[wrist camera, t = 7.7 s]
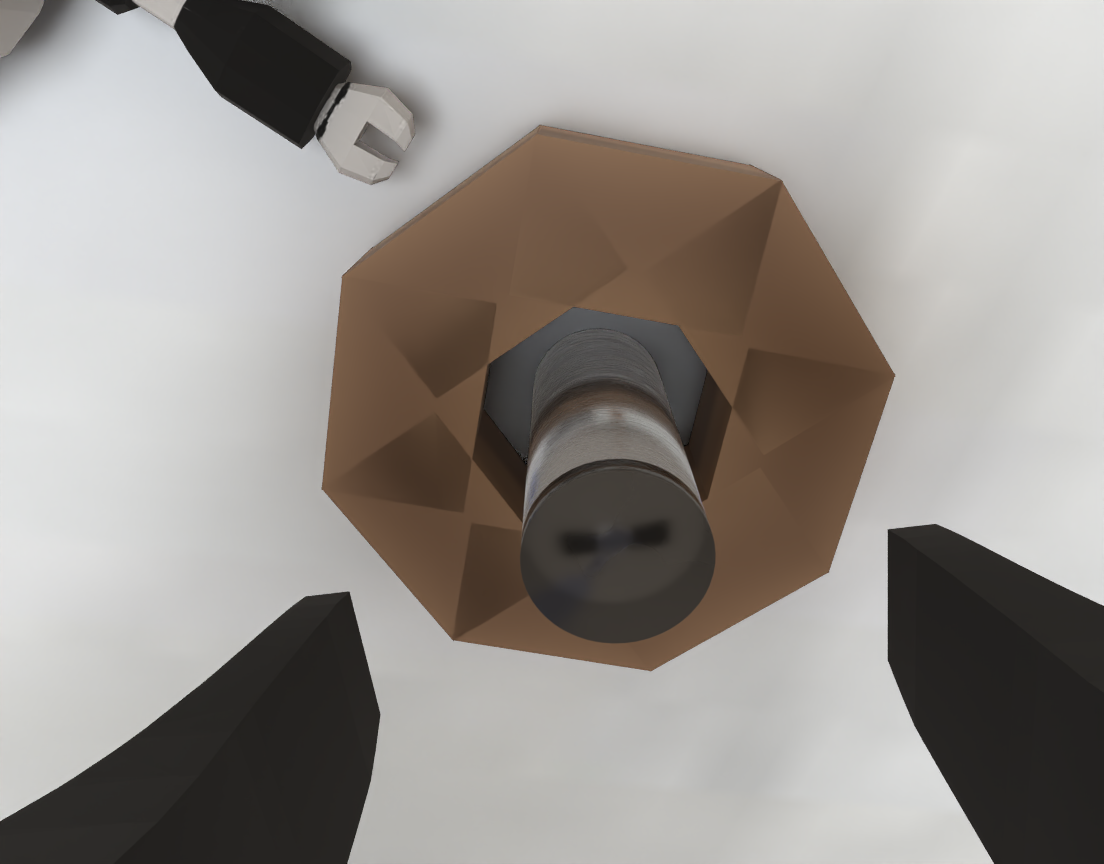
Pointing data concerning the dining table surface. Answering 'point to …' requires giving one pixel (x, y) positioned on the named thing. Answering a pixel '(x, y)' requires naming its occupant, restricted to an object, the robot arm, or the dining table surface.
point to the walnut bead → (619, 288)
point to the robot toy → (268, 75)
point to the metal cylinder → (610, 496)
